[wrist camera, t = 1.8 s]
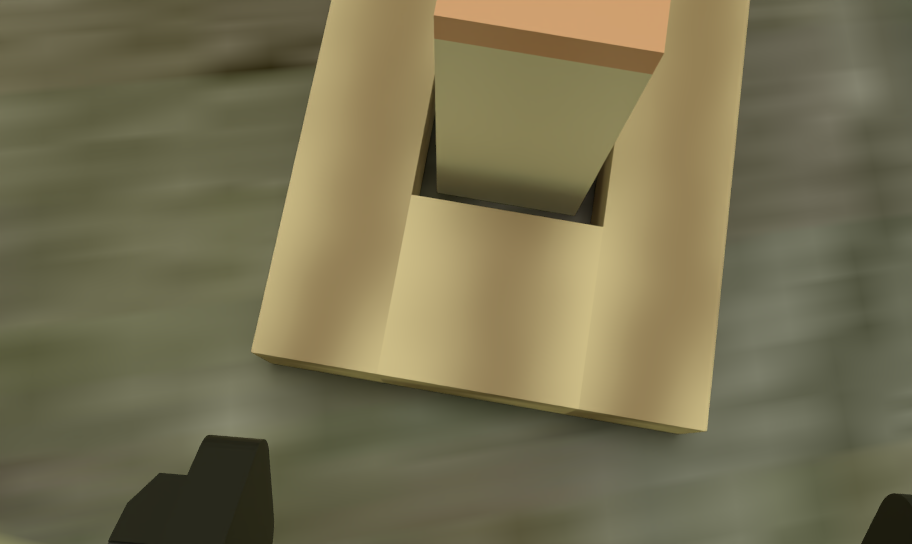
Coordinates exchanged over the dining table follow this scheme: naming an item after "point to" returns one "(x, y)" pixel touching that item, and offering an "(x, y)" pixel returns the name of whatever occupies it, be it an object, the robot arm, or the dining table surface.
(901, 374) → the dining table surface
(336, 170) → the wooden peg board
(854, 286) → the dining table surface
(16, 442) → the dining table surface
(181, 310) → the dining table surface
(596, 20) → the plug
